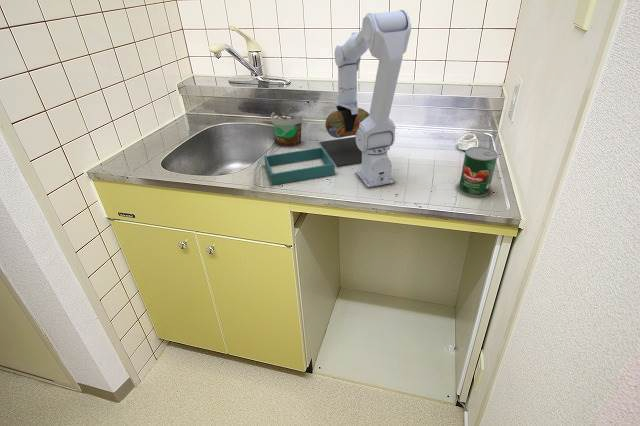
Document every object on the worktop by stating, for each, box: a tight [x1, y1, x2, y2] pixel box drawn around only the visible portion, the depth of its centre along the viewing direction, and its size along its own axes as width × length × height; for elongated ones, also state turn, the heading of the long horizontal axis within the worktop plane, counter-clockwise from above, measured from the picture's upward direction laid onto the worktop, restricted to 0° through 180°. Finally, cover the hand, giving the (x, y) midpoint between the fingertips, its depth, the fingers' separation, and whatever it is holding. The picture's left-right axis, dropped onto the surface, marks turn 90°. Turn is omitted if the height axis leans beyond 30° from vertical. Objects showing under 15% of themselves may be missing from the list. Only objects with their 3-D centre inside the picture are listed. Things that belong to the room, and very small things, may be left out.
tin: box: [324, 107, 370, 139], centre depth 123 cm, size 15×3×8 cm, turn 105°
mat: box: [320, 136, 362, 168], centre depth 129 cm, size 20×16×1 cm
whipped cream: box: [457, 133, 480, 151], centre depth 125 cm, size 8×7×5 cm
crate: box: [264, 146, 336, 186], centre depth 117 cm, size 13×19×4 cm
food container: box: [270, 111, 304, 147], centre depth 133 cm, size 12×6×10 cm, turn 62°
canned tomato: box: [458, 146, 499, 198], centre depth 101 cm, size 8×8×11 cm
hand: (347, 129), depth 124 cm, fingers closed on tin, 2 cm apart
